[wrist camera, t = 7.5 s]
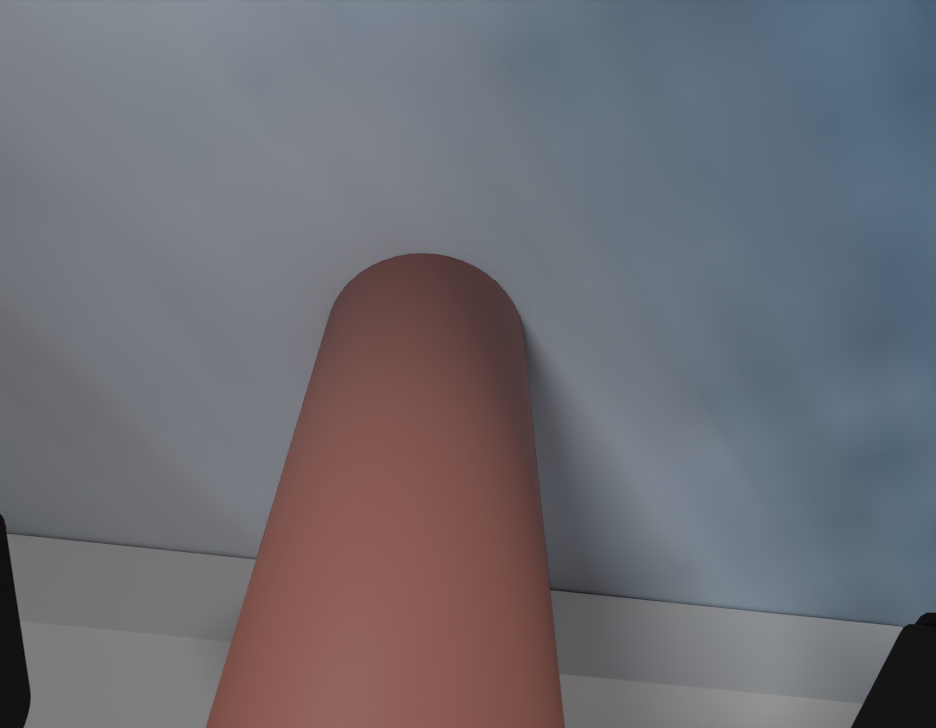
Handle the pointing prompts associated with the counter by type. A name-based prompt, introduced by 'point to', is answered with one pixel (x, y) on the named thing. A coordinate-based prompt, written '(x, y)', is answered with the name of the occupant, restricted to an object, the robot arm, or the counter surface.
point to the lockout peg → (404, 524)
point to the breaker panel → (576, 632)
